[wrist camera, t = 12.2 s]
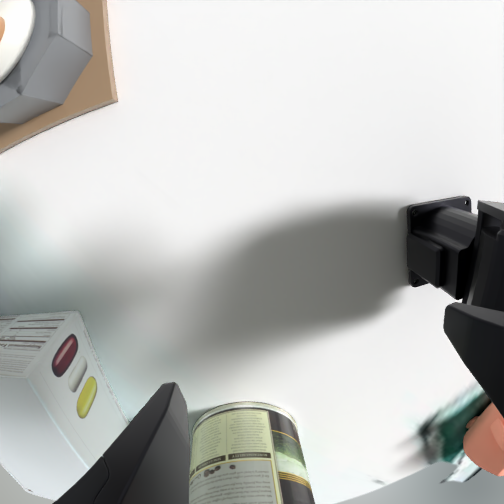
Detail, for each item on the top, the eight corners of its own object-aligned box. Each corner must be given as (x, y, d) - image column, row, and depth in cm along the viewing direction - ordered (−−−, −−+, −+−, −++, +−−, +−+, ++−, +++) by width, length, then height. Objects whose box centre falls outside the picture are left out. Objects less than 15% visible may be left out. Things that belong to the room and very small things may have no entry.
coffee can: (316, 412, 26) (357, 540, 13) (269, 468, 29) (285, 575, 15) (211, 387, 24) (207, 541, 11) (179, 450, 27) (169, 567, 14)
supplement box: (145, 445, 27) (131, 517, 18) (50, 436, 26) (25, 492, 18) (82, 307, 22) (24, 379, 13) (-18, 315, 21) (-72, 365, 12)
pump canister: (105, -21, 14) (76, -59, 8) (117, 101, 17) (78, 84, 12) (-6, 38, 14) (-48, 23, 8) (-1, 153, 17) (-52, 159, 12)
